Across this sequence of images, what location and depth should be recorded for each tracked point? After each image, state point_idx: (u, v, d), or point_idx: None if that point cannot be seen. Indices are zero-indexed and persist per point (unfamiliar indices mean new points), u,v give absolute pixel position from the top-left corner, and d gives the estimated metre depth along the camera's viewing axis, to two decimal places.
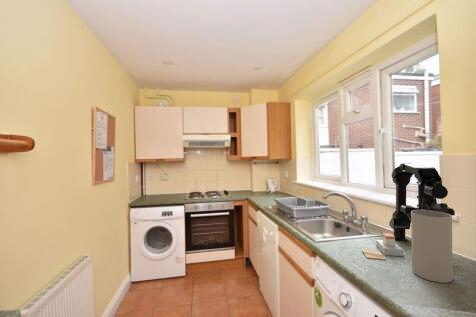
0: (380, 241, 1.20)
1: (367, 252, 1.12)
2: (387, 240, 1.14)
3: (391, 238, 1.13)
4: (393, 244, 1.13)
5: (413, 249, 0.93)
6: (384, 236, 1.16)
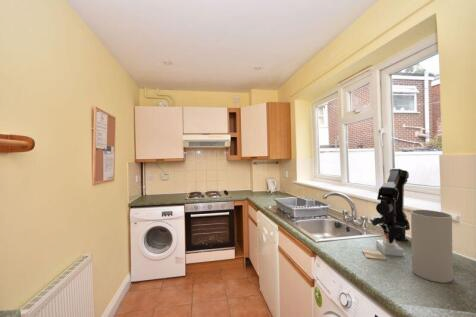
0: (380, 241, 1.20)
1: (367, 252, 1.12)
2: (387, 240, 1.14)
3: None
4: (393, 244, 1.13)
5: (413, 249, 0.93)
6: (384, 236, 1.16)
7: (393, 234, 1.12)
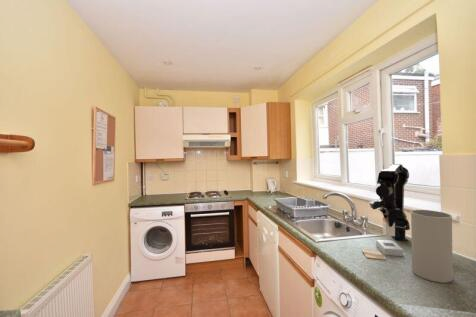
0: (380, 241, 1.20)
1: (367, 252, 1.12)
2: (387, 224, 1.14)
3: None
4: (393, 228, 1.13)
5: (413, 249, 0.93)
6: (384, 220, 1.16)
7: (393, 217, 1.12)
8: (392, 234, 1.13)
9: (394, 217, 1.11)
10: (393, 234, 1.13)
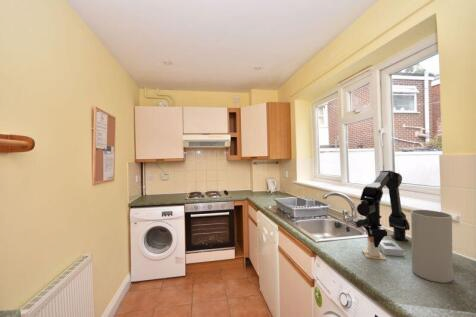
0: None
1: (367, 252, 1.12)
2: (371, 244, 1.08)
3: None
4: (377, 248, 1.08)
5: (413, 249, 0.93)
6: (368, 239, 1.11)
7: (378, 238, 1.05)
8: (377, 254, 1.08)
9: (380, 237, 1.05)
10: (378, 254, 1.08)
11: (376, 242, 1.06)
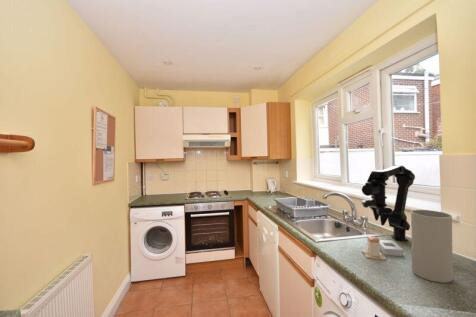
0: (380, 241, 1.20)
1: (367, 252, 1.12)
2: (371, 244, 1.08)
3: (375, 241, 1.08)
4: (377, 248, 1.08)
5: (413, 249, 0.93)
6: (368, 239, 1.11)
7: (385, 216, 1.17)
8: (377, 254, 1.08)
9: (386, 216, 1.16)
10: (378, 254, 1.08)
11: (383, 220, 1.17)
